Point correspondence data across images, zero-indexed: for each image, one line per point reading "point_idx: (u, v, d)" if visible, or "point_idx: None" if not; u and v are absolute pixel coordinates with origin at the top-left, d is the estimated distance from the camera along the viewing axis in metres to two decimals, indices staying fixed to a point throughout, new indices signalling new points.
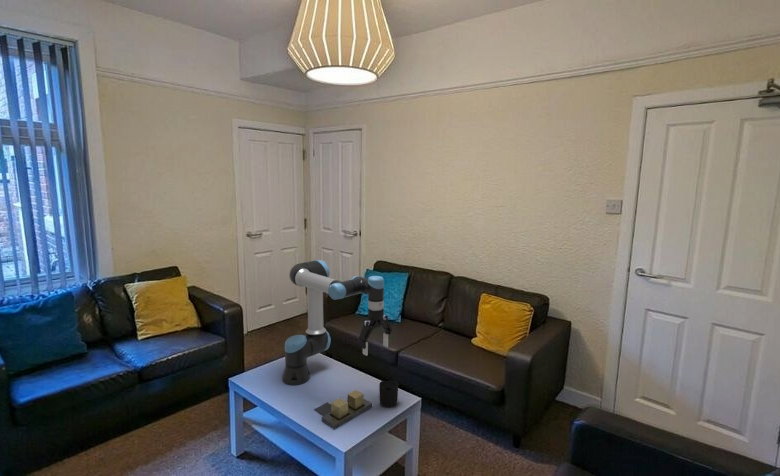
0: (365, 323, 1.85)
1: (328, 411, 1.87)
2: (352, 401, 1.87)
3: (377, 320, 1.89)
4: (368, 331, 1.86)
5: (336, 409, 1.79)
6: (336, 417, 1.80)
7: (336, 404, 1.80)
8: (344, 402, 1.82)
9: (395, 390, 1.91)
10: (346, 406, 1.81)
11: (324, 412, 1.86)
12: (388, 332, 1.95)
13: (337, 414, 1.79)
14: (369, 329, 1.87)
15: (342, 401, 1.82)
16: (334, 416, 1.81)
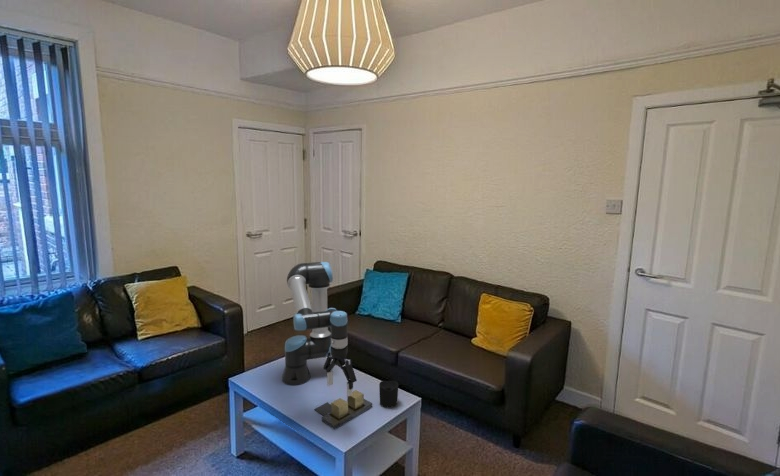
0: None
1: (328, 411, 1.87)
2: (352, 401, 1.87)
3: (337, 358, 1.78)
4: None
5: (336, 409, 1.79)
6: (336, 417, 1.80)
7: (336, 404, 1.80)
8: (344, 402, 1.82)
9: (395, 390, 1.91)
10: (346, 406, 1.81)
11: (324, 412, 1.86)
12: (348, 381, 1.74)
13: (337, 414, 1.79)
14: None
15: (342, 401, 1.82)
16: (334, 416, 1.81)
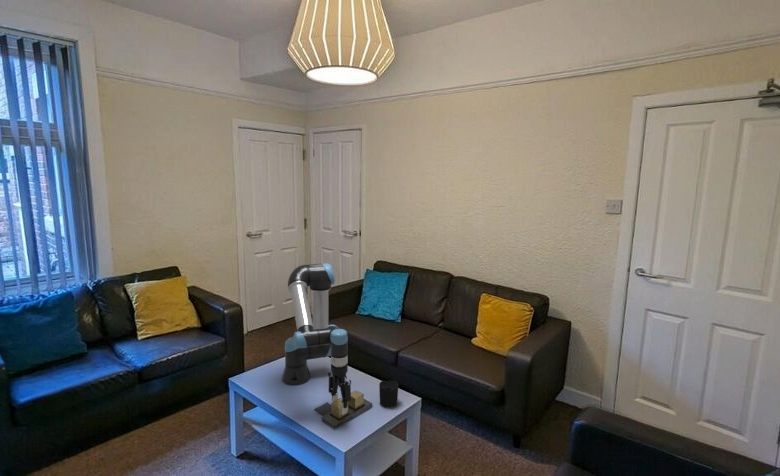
0: None
1: (328, 411, 1.87)
2: (352, 401, 1.87)
3: None
4: None
5: (336, 409, 1.79)
6: (336, 417, 1.80)
7: (336, 403, 1.80)
8: None
9: (395, 390, 1.91)
10: None
11: (324, 412, 1.86)
12: (343, 400, 1.78)
13: (337, 414, 1.79)
14: None
15: None
16: (334, 416, 1.81)
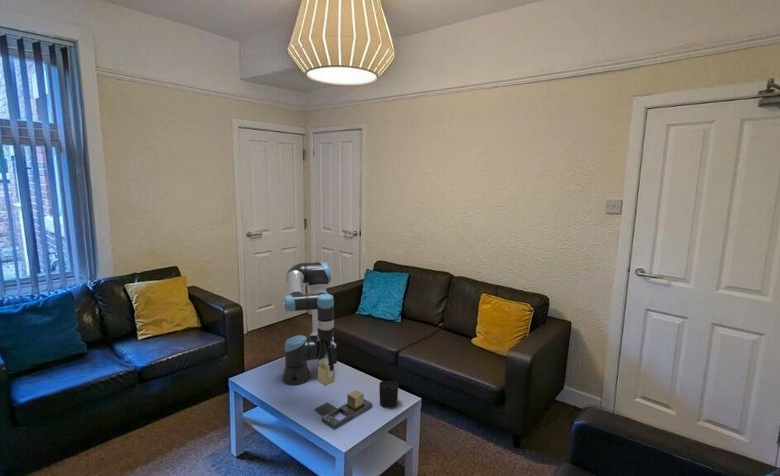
0: None
1: (328, 411, 1.87)
2: (352, 401, 1.87)
3: (324, 337, 1.83)
4: None
5: (323, 372, 1.84)
6: (323, 380, 1.84)
7: (323, 367, 1.85)
8: None
9: (395, 390, 1.91)
10: None
11: (324, 412, 1.86)
12: (329, 362, 1.82)
13: (323, 377, 1.84)
14: None
15: None
16: (321, 379, 1.85)
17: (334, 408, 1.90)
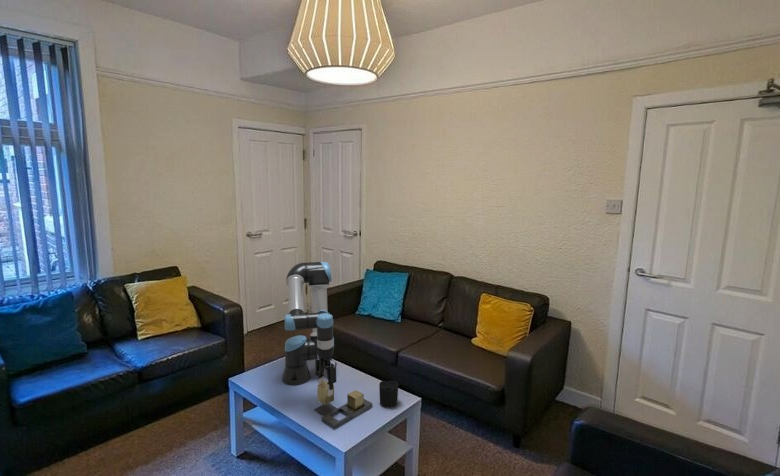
0: None
1: (328, 411, 1.87)
2: (352, 401, 1.87)
3: None
4: None
5: (322, 391, 1.85)
6: (322, 399, 1.85)
7: (323, 386, 1.86)
8: None
9: (395, 390, 1.91)
10: None
11: (324, 412, 1.86)
12: (328, 382, 1.83)
13: (323, 396, 1.85)
14: None
15: None
16: (320, 398, 1.86)
17: (334, 408, 1.90)
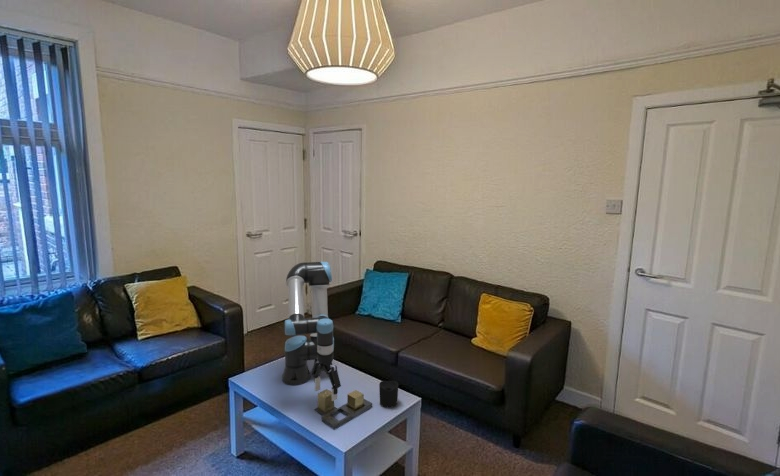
0: None
1: None
2: (352, 401, 1.87)
3: (323, 363, 1.85)
4: None
5: (322, 400, 1.86)
6: (322, 407, 1.86)
7: (323, 394, 1.87)
8: (330, 393, 1.88)
9: (395, 390, 1.91)
10: None
11: None
12: (333, 386, 1.82)
13: (323, 404, 1.86)
14: None
15: (328, 392, 1.89)
16: (320, 406, 1.87)
17: (334, 408, 1.90)
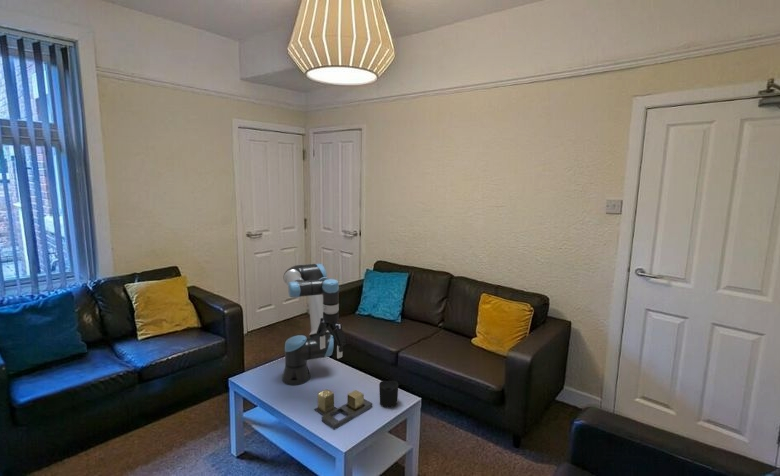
0: None
1: None
2: (352, 401, 1.87)
3: (329, 323, 1.90)
4: None
5: (322, 400, 1.86)
6: (322, 407, 1.86)
7: (323, 394, 1.87)
8: (330, 393, 1.88)
9: (395, 390, 1.91)
10: (332, 397, 1.88)
11: None
12: (338, 344, 1.86)
13: (323, 404, 1.86)
14: None
15: (328, 392, 1.89)
16: (320, 406, 1.87)
17: (334, 408, 1.90)
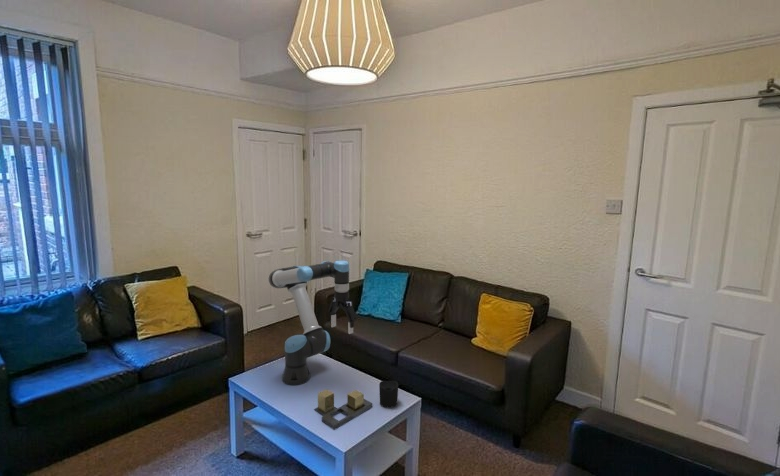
0: None
1: None
2: (352, 401, 1.87)
3: (340, 301, 2.04)
4: None
5: (322, 400, 1.86)
6: (322, 407, 1.86)
7: (323, 394, 1.87)
8: (330, 393, 1.88)
9: (395, 390, 1.91)
10: (332, 397, 1.88)
11: None
12: (349, 320, 2.00)
13: (323, 404, 1.86)
14: None
15: (328, 392, 1.89)
16: (320, 406, 1.87)
17: (334, 408, 1.90)
